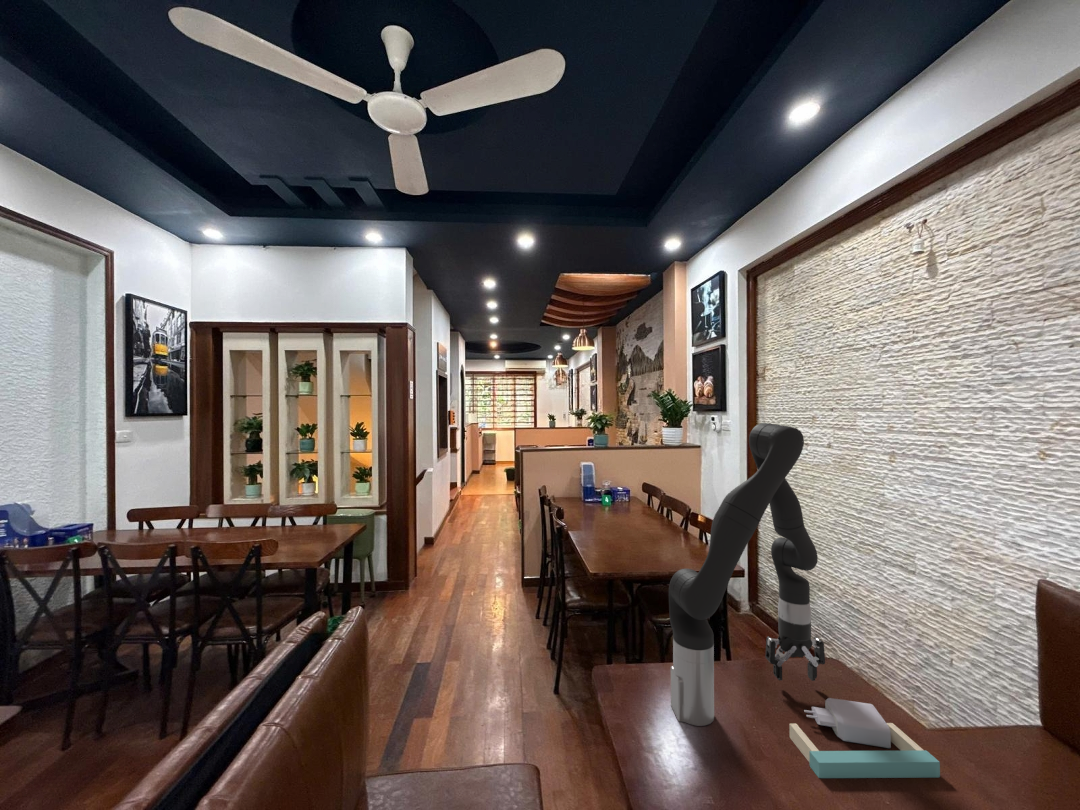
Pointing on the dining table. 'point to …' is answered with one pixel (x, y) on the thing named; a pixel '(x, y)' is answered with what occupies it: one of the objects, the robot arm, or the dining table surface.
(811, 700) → the dining table surface
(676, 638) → the robot arm
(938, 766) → the stop bay
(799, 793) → the dining table surface
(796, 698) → the dining table surface
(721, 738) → the dining table surface
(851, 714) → the charger
